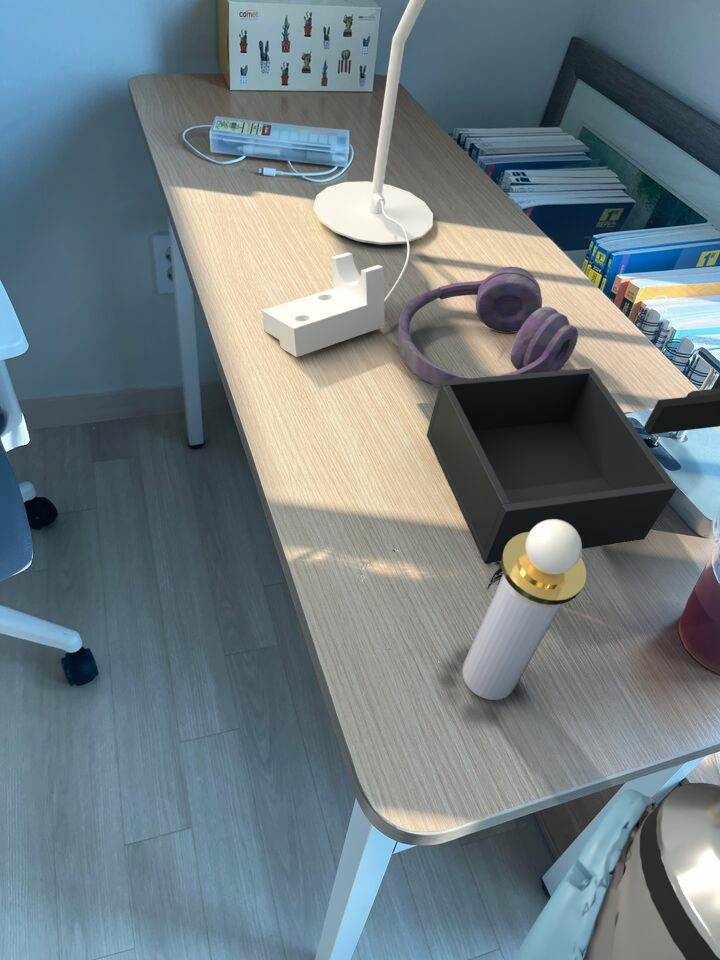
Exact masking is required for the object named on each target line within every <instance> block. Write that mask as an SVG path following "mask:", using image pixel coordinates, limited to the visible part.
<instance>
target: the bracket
mask: <svg viewBox="0 0 720 960" xmlns="http://www.w3.org/2000/svg"><path fill="white" fill-rule="evenodd" d="M330 264H331V281H332V288H329V289H326V290H322V291H321V292H320V291H319V292H317V293H314V294H310V295H307V296H304V297H300V298H297V299H294V300H290V301H287V302H284V303H281V304H278V305H275V306H271V307H268V308H263V309H261V316H262V317H261V318H262V324H263V325H262V326H263V331H265V332H266V333H268V334H269V335H271V336H272V337H274V338H276V340H278V341H279V347H280V348H281V349H282V350H283V351H286V352H287V353H289V354H290V355H292V356H294V357H295V358H299V357H302V356H304V355H306V354H310V353H312V352H316V351H318V350H321V349H324V348H327V347H329V346H334V345H336V344H338V343H341V342H344V341H347V340H350V339H353V338H356V337H358V336H362V335H364V334H368V333H370V332H373V331H376V330H379V329H382V328H384V327H385V303H384V299H385V283H384V281H385V279H384V278H385V277H384V276H385V275H384V266H382V265H380V264H376V265H374V266H369V267H367V268H363V269H361V270H360V273H359V272H358V270H357V268H356V265H355V261H354V256H353V253H351V252H349V251H348V252H344V253H340V254H337V255H334V256H331V257H330Z"/></svg>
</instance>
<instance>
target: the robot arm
mask: <svg viewBox="0 0 720 960" xmlns="http://www.w3.org/2000/svg"><path fill="white" fill-rule="evenodd" d="M717 427H718V428H719V427H720V374H719V375H718V376H717V378H716V380H715V381H714V383H713V385H712V387H711V388H708V389H700V390H691V391H690V392H688V393H687V395H686V396H682V397H673V398H664V399H662V398H661V399H658V400H657V402H656V404H655V406H654V408H653V409H652V411H651V413H650V415H649V417H648V418H647V420H646V422H645V424H644V426H643V429H644V431H645V432H646V433H647V435H649V436H650V435H658V434H667V433H676V432H684V431H691V430H700V429H708V428H709V429H710V428H717ZM514 960H720V785H719V784H715V783H708V782H689V783H686V784H683V785H680V786H678V787H676V788H673V790H672V791H671V792H670V793H669V794H668V795H666V796H665V798H663V800H662V801H661V802H660V803H659V804H657V802H656V801H655V799H654V798H653V796H648V795H646V794H643V793H642V792H640V791H639V790H636V789H632V788H631V789H630V788H628V789H626V790H624V791H622V792H621V793H620V794H619V796H618V797H617V798H616V800H615V801H614V803H613V804H612V805H611V807H610V808H609V809H608V811H607V812H606V814H605V815H604V817H603V818H602V819H601V820H600V822H599V824H598V825H597V826H596V828H595V830H594V831H593V833H592V834H591V836H590V837H589V839H588V840H587V841H586V844H585V845H584V846H583V848H582V850H581V851H580V853H579V854H578V856H577V858H576V860H575V861H574V862H573V863H572V865H571V867H570V868H569V870H568V871H567V873H566V875H565V876H564V877H563V879H562V880H561V882H560V883H559V885H558V886H557V887H556V889H555V891H554V892H553V893H552V895H551V897H549V899H548V901H547V903H546V904H545V906H544V908H542V910H541V912H540V913H539V915H538V917H537V918H536V920H535V922H534V923H533V925H532V926H531V928H530V930H529V932H528V933H527V934H526V937H525V938H524V939H523V942H522V943H521V946H520V947H519V948H518V950H517V952H516V955H515V958H514Z"/></svg>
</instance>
